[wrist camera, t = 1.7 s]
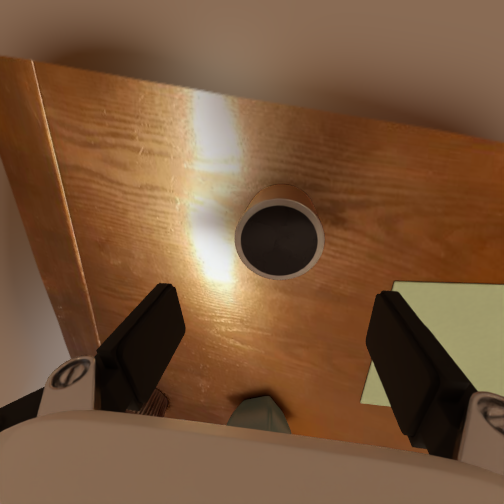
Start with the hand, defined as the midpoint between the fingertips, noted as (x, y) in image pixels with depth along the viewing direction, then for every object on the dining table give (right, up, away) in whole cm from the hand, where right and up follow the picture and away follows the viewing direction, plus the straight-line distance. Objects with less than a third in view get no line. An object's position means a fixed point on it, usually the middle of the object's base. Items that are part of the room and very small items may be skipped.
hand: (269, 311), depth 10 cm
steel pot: (+2, +6, +11) cm, 13 cm away
